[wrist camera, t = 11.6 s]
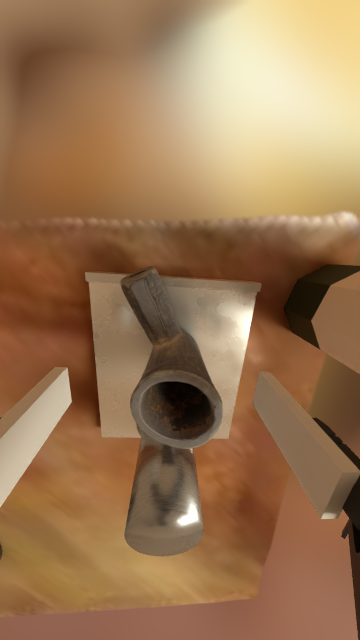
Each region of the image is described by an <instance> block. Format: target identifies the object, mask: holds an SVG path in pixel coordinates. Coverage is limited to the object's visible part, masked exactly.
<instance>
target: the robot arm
mask: <svg viewBox="0 0 360 640" xmlns="http://www.w3.org/2000/svg"><path fill="white" fill-rule="evenodd" d="M71 402H72V400H71V392H70V384H69V377H68V369H67V367H55V368H54V369H52V370H51V371H50V372H49V373H48V374H47V375H46V376H45V377H44V378H43V379H42V380H41V381H40V382H39V383H38V384H37V385H36V386H35V387H34V388H32V389H31V390H30V391H29V392H28V393H27V394H26V395H25V396H24V397H23V398H22V399H21V400H20V401H19V402H18V403H17V404H16V405H15V406H13V407H12V408H11V409H10V410H9V411H8V412H7V413H6V414H5V415H4V416H3V417H2V418H0V507H1V506H2V504H3V503H4V501H5V500H6V498H7V497H8V495H9V494H10V492H11V491H12V489H13V488H14V486H15V485H16V483H17V482H18V480H19V479H20V477H21V476H22V475H23V473H24V472H25V470H26V469H27V467H28V466H29V464H30V463H31V461H32V460H33V458H34V457H35V455H36V454H37V452H38V451H39V449H40V448H41V446H42V445H43V444H44V442H45V441H46V439H47V438H48V436H49V435H50V433H51V432H52V430H53V429H54V427H55V426H56V424H57V423H58V421H59V420H60V418H61V417H62V416H63V414H64V413H65V411H66V410H67V408H68V407H69V405H70V404H71ZM253 405H254V407H255V409H256V410H257V412H258V414H259V415H260V417H261V419H262V420H263V422H264V424H265V425H266V427H267V429H268V431H269V432H270V434H271V436H272V437H273V439H274V441H275V442H276V444H277V446H278V447H279V449H280V451H281V453H282V454H283V456H284V458H285V459H286V461H287V463H288V464H289V466H290V468H291V469H292V471H293V473H294V475H295V476H296V478H297V480H298V481H299V483H300V485H301V486H302V488H303V490H304V491H305V493H306V495H307V497H308V498H309V500H310V502H311V503H312V505H313V507H314V508H315V510H316V512H317V513H318V515H319V517H320V518H321V519H332V518H338V517H339V515H340V513H341V511H342V509H343V510H344V511H345V513H346V514H347V515H348V517H349V520H348V522H347V524H346V526H345V528H344V529H343V532H342V537H343V538H344V539H345V538H346V536H347V534H348V535H349V545H350V556H351V566H352V577H353V587H354V598H355V609H356V619H357V630H358V639H359V640H360V459H359V458H358V457H357V456H356V455H355V454H354V453H353V452H352V451H351V450H350V448H349V447H348V446H347V445H346V444H344V443H343V441H342V440H341V439H340V438H339V437H337V436H336V434H335V433H334V432H333V431H332V430H331V429H330V428H329V427H328V426H327V425H326V424H324V423H323V422H322V421H320V420H319V419H317V418H311V417H310V416H309V414H308V413H307V412H306V411H305V410H304V409H303V408H302V407H301V406H300V405H299V403H298V402H297V401H296V400H295V399H294V398H293V397H292V396H291V395H290V394H289V392H288V391H287V390H286V389H285V388H284V387H283V386H282V385H281V384H280V383H279V381H278V380H277V379H276V378H275V377H274V376H273V375H272V374H271V373H270V372H259V377H258V381H257V386H256V390H255V395H254V399H253ZM1 557H2V549H1V546H0V559H1Z"/></svg>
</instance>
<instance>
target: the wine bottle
mask: <svg viewBox="0 0 360 640" xmlns="http://www.w3.org/2000/svg"><path fill="white" fill-rule="evenodd" d="M284 310H285V313H286V316H287V318H288V321H289V324H290V327H291V330H292V332H293V333H294V334H296V335H297V336H299V337H301V338H302V339H304V340H306V341H307V342H309V343H310V344H312V345H314V346H315V347H317V348H319V349H320V350H322V351H323V352H325V353H327V354H328V355H330V356H331V357H333V358H335V359H337V360H338V361H340V362H341V363H343V364H344V365H346V366H348V367H349V368H351V369H353V370H354V371H356V372H357V373H359V374H360V266H351V265H326V266H324V267H322V268H320V269H318V270H316V271H314V272H312V273H310V274H308V275H306V276H304V277H302V278H300V279H298V281H297V283H296V285H295V287H294V289H293V291H292V293H291V295H290V297H289V299H288V301H287V303H286V305H285V307H284Z"/></svg>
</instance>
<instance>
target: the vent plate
mask: <svg viewBox="0 0 360 640" xmlns="http://www.w3.org/2000/svg"><path fill="white" fill-rule="evenodd" d="M130 274H132V273H120V272H104V271H89V272H85V278H86V281H88V282H89V291H90V303H91V315H92V326H93V338H94V350H95V362H96V373H97V385H98V397H99V408H100V420H101V432H102V437H136V438H141V440H140V446H139V452H138V458H137V464H136V470H135V475H134V481H133V487H132V493H131V499H130V505H129V511H128V516H127V522H126V528H125V540H126V542H127V543H128V545H129V546H130V547H131V548H133V549H134V550H136V551H138V552H140V553H143V554H146V555H151V556H171V555H177V554H180V553H183V552H186V551H188V550H190V549H192V548H193V547H195V546H196V545H197V544H198V543H199V542H200V540H201V539H202V537H203V533H204V530H203V521H202V513H201V504H200V496H199V487H198V479H197V470H196V461H195V453H194V448H192V449H183V448H177V447H173V446H170V445H166V444H163V443H161V442H158V441H156V440H154V439H152V438H151V437H149V436H148V435H147V434H145V433H144V432H143V431H142V430H141V429H140V428H139V426H138V425H137V423H136V422H135V420H134V418H133V416H132V413H131V409H130V399H131V395H132V393H133V391H134V389H135V388H136V386H137V384H138V383H139V381H140V379H141V377H142V375H143V373H144V370H145V368H146V365H147V363H148V360H149V357H150V354H151V351H152V348H153V345H152V343H151V342H150V340H149V338H148V337H147V335H146V333H145V331H144V329H143V328H142V326H141V325H140V323H139V321H138V320H137V318H136V316H135V314H134V312H133V310H132V308H131V306H130V304H129V303H128V301H127V299H126V297H125V295H124V293H123V291H122V288H121V279H123V278H124V277H126V276H127V275H130ZM159 276H160V279H161V281H162V284H163V286H164V289H165V291H166V294H167V296H168V298H169V301H170V303H171V306H172V309H173V312H174V315H175V318H176V321H177V324H178V326H179V328H180V330H182V331H184V332H187V333H189V334H190V335H191V336H192V337H193V338H194V339H195V341H196V343H197V344H198V346H199V349H200V352H201V356H202V359H203V361H204V364H205V366H206V369H207V371H208V374H209V376H210V378H211V381H212V383H213V385H214V387H215V388H216V390H217V391H218V393H219V395H220V397H221V400H222V404H223V417H222V423H221V425H220V427H219V430H218V432H217V433H216V434H215V435H214V436H213V438H226V439H228V437H229V432H230V427H231V422H232V417H233V412H234V407H235V401H236V396H237V391H238V386H239V381H240V376H241V371H242V366H243V361H244V356H245V351H246V346H247V341H248V335H249V330H250V325H251V320H252V315H253V310H254V305H255V300H256V295H257V292H260V290H261V285H262V283H258V282H255V281H244V280H228V279H213V278H197V277H182V276H166V275H159Z"/></svg>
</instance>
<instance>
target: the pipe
mask: <svg viewBox="0 0 360 640" xmlns="http://www.w3.org/2000/svg"><path fill="white" fill-rule="evenodd" d="M121 288H122V291H123V293H124V295H125V297H126V299H127V301H128V303H129V304H130V306H131V308H132V310H133V312H134V314H135V316H136V318H137V320H138V321H139V323H140V325H141V326H142V328H143V329H144V331H145V333H146V335H147V337H148V338H149V340H150V342H151V343H152V345H153V348H152V351H151V354H150V357H149V360H148V363H147V365H146V368H145V370H144V373H143V375H142V377H141V379H140V381H139V383H138V384H137V386H136V388H135V389H134V391H133V393H132V395H131V399H130V409H131V413H132V416H133V418H134V420H135V422H136V423H137V425H138V426H139V428H140V429H141V430H142V431H143V432H144V433H145V434H147V435H148V436H149V437H151V438H152V439H154V440H156V441H158V442H161V443H163V444H166V445H170V446H173V447H177V448H183V449H192V448H195V447H199V446H201V445H203V444H205V443H206V442H207V441H209V440H210V439H211V438H213V436H214V435H215V434H216V433H217V432H218V430H219V427H220V425H221V423H222V417H223V404H222V400H221V397H220V395H219V393H218V391H217V390H216V388H215V387H214V385H213V383H212V381H211V378H210V376H209V374H208V371H207V369H206V366H205V364H204V361H203V359H202V356H201V352H200V349H199V346H198V344H197V343H196V341H195V339H194V338H193V337H192V336H191V335H190V334H189V333H187V332H184V331H182V330H180V328H179V326H178V324H177V321H176V318H175V315H174V312H173V309H172V306H171V303H170V301H169V298H168V296H167V294H166V291H165V289H164V286H163V284H162V281H161V279H160V276H159V274H158V271H157V269H156V267H148V268H145V269H142V270H140V271H137V272H134V273H132V274H130V275H127V276H126V277H124V278H123V279H121Z"/></svg>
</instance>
